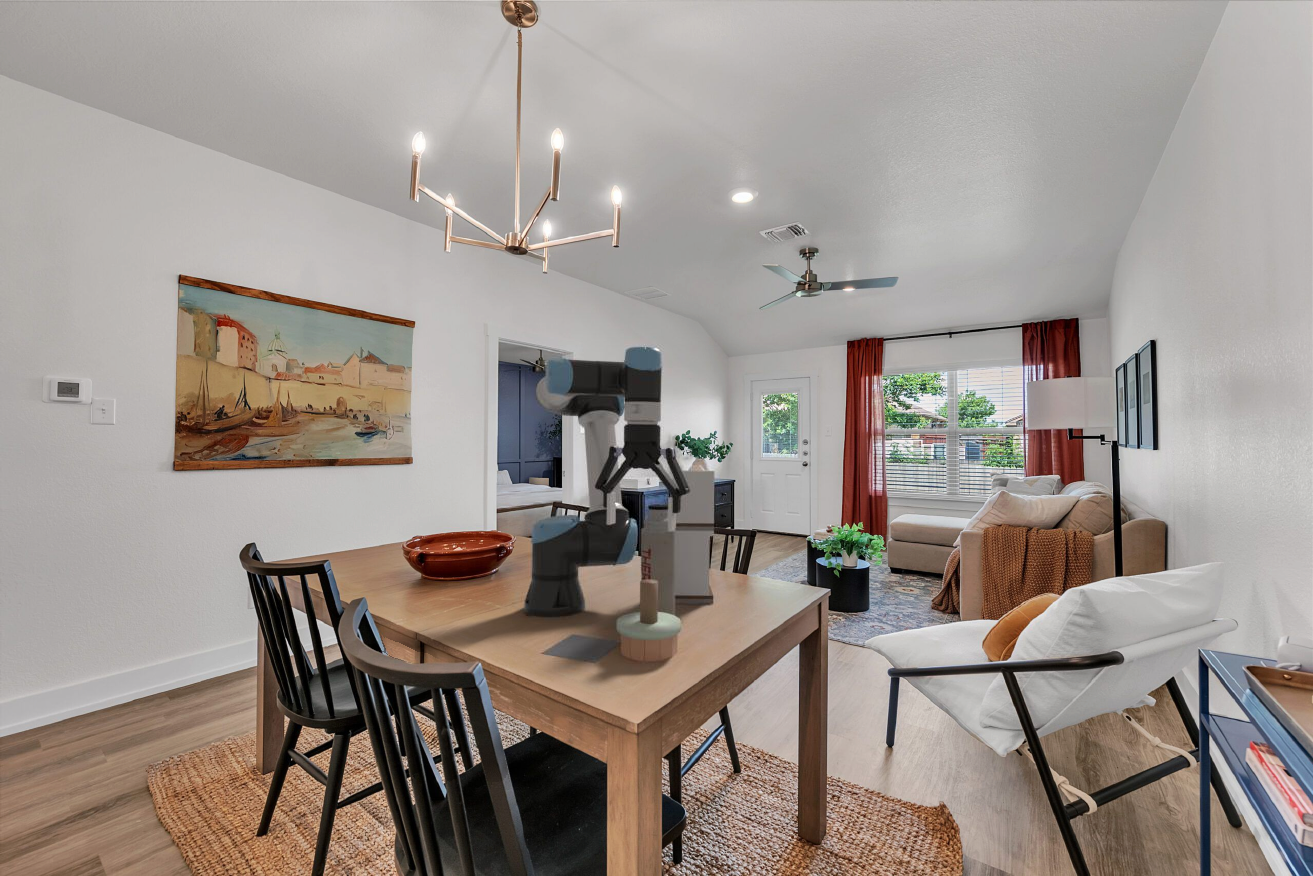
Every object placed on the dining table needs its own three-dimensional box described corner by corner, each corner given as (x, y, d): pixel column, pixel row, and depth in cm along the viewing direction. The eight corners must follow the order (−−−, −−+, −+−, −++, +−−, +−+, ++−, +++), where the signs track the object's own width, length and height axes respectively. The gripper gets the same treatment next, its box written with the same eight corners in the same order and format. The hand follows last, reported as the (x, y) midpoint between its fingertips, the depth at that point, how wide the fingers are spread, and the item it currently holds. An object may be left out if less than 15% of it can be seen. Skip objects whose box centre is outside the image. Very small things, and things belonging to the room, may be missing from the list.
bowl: (611, 658, 112) (611, 633, 112) (635, 640, 122) (635, 617, 122) (664, 667, 108) (664, 641, 108) (684, 647, 118) (684, 623, 118)
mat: (541, 656, 113) (541, 653, 113) (572, 636, 124) (572, 634, 124) (594, 665, 108) (594, 662, 108) (621, 644, 119) (621, 642, 119)
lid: (605, 634, 111) (605, 585, 111) (632, 615, 123) (633, 571, 123) (667, 643, 106) (667, 593, 106) (689, 623, 118) (689, 577, 118)
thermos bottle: (648, 632, 127) (649, 507, 127) (635, 621, 135) (636, 503, 135) (680, 627, 131) (681, 506, 130) (666, 617, 138) (667, 502, 138)
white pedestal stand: (713, 603, 150) (714, 471, 150) (673, 603, 150) (674, 470, 150) (709, 591, 161) (710, 468, 161) (672, 591, 161) (672, 468, 161)
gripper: (579, 422, 118) (578, 524, 118) (694, 424, 109) (693, 534, 109) (596, 422, 125) (595, 519, 125) (706, 424, 116) (704, 528, 116)
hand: (640, 526), depth 117 cm, fingers open, 13 cm apart
